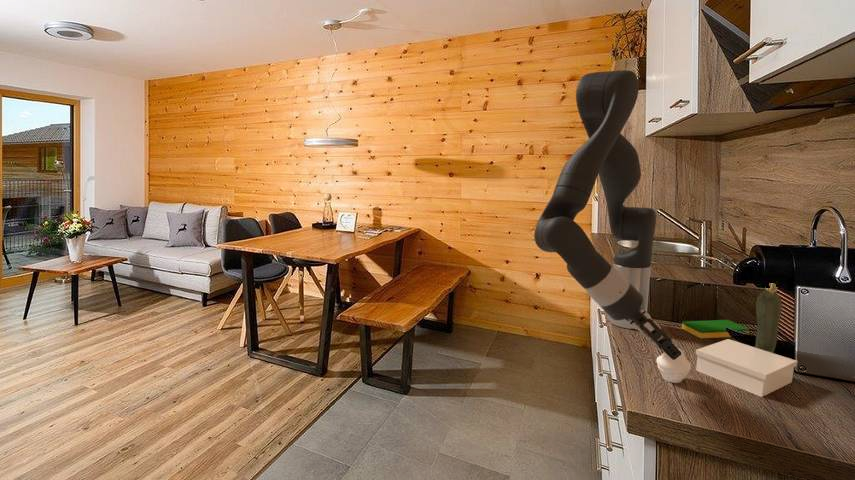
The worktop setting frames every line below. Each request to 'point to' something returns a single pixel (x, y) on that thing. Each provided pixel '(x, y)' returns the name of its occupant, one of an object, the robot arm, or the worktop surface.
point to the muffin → (673, 367)
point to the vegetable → (768, 318)
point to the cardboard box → (745, 366)
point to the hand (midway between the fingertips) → (666, 347)
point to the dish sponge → (711, 328)
